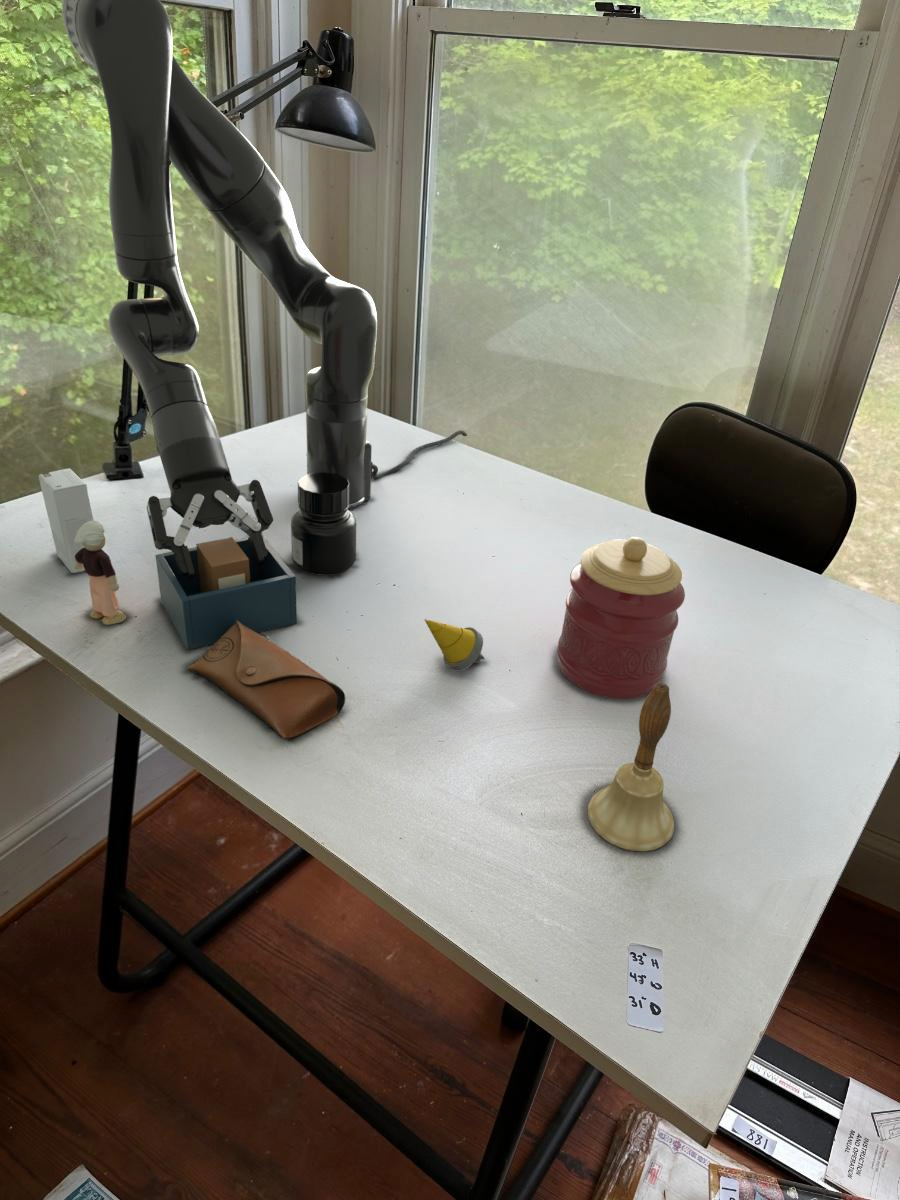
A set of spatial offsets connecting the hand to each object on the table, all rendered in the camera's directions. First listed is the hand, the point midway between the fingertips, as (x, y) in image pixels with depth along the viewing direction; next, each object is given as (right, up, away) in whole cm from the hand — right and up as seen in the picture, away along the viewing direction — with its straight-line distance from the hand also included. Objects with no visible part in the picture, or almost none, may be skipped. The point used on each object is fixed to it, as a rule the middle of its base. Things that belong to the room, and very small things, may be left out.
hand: (226, 570), depth 103 cm
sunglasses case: (+6, -14, -9) cm, 17 cm away
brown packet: (-1, -5, +3) cm, 5 cm away
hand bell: (+45, -25, -21) cm, 55 cm away
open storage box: (-1, -5, +4) cm, 6 cm away
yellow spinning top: (+28, -12, -3) cm, 30 cm away
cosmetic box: (-23, +1, +11) cm, 26 cm away
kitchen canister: (+46, -12, 0) cm, 48 cm away
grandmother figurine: (-15, -6, +1) cm, 16 cm away
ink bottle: (+9, +2, +16) cm, 19 cm away
